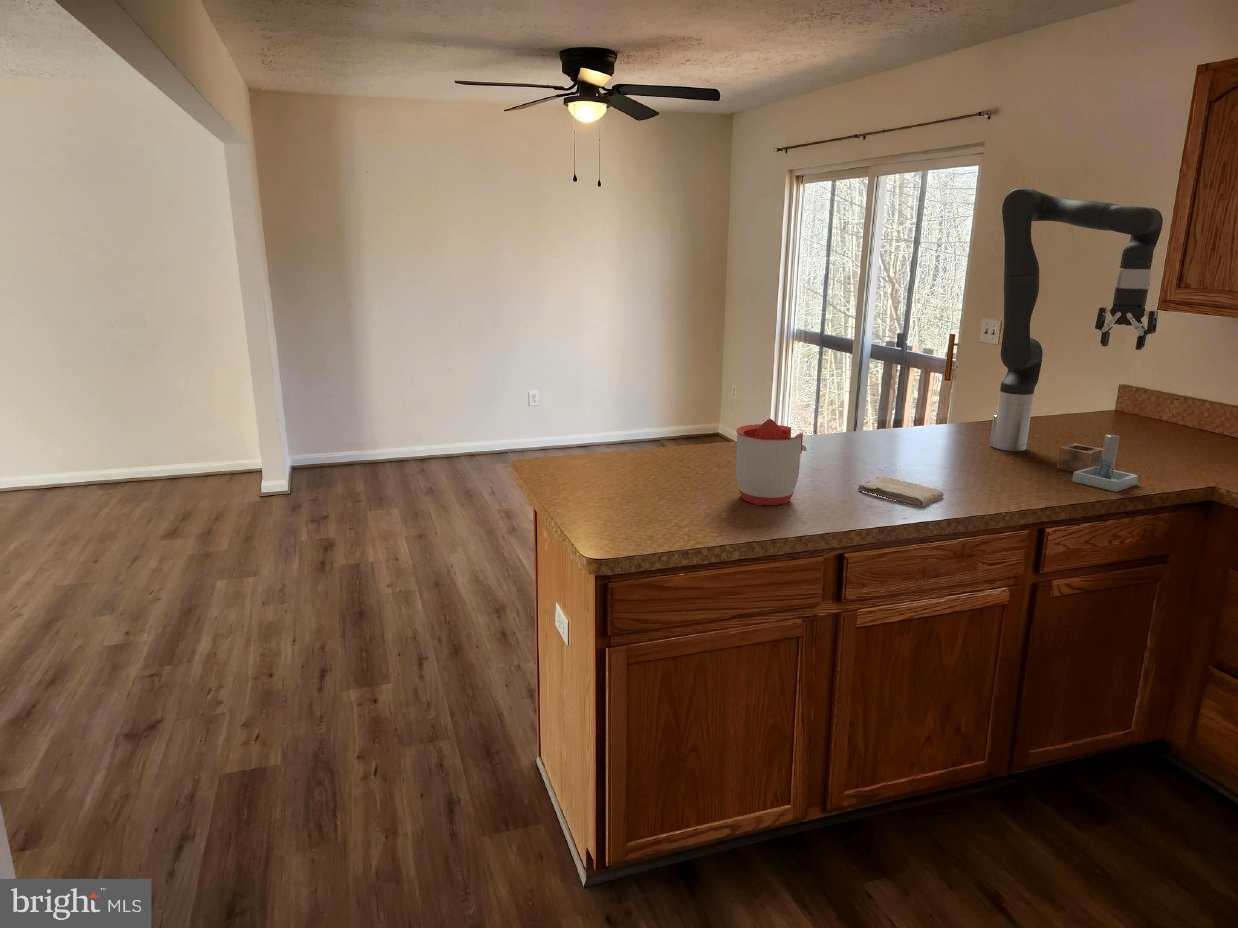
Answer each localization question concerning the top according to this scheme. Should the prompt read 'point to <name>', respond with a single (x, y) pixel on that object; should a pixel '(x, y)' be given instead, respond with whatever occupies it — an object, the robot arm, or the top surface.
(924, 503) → the washcloth
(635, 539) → the top surface
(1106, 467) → the pin
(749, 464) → the citrus juicer
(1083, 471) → the tray
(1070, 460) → the square hollow tube
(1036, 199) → the robot arm
